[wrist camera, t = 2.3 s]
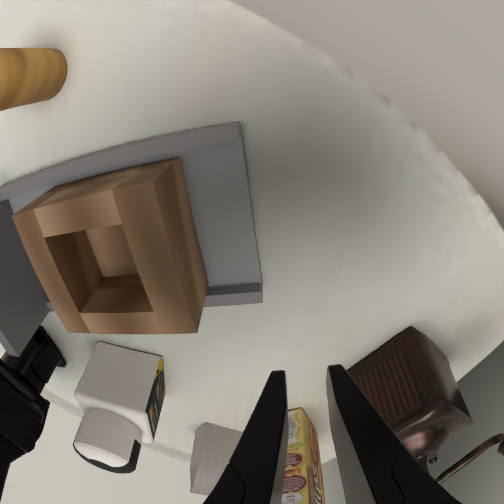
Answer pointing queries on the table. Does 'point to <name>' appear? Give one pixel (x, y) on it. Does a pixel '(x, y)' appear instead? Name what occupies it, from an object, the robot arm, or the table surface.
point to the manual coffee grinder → (418, 397)
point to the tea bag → (211, 456)
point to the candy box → (302, 463)
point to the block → (119, 251)
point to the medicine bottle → (118, 406)
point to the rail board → (202, 206)
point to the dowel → (30, 75)
